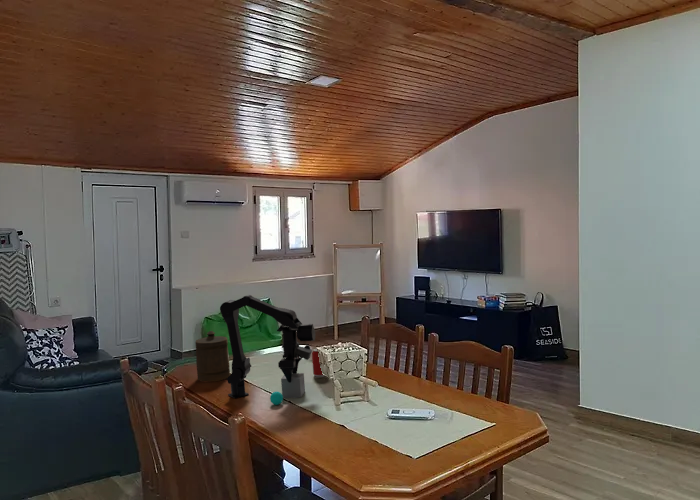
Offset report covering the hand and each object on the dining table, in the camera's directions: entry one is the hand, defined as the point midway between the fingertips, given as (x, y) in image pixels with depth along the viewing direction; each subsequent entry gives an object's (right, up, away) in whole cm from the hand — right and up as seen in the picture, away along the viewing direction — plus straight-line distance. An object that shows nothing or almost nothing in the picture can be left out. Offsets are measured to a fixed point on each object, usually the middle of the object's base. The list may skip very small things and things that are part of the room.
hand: (292, 379), depth 241 cm
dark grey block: (+1, -6, 0) cm, 6 cm away
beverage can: (+10, -4, +27) cm, 29 cm away
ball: (-5, -5, -11) cm, 13 cm away
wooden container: (-40, -7, +35) cm, 54 cm away
